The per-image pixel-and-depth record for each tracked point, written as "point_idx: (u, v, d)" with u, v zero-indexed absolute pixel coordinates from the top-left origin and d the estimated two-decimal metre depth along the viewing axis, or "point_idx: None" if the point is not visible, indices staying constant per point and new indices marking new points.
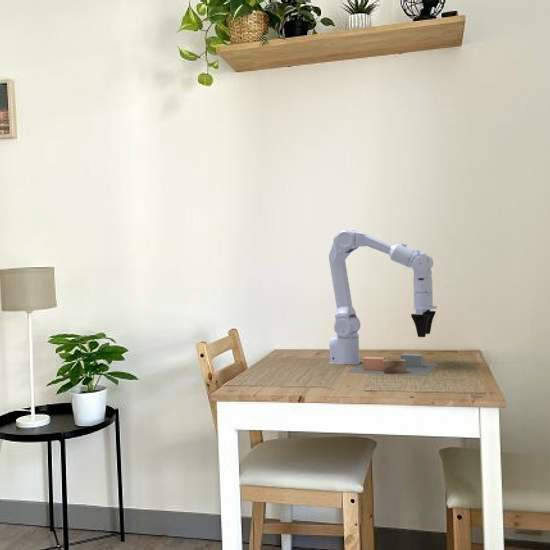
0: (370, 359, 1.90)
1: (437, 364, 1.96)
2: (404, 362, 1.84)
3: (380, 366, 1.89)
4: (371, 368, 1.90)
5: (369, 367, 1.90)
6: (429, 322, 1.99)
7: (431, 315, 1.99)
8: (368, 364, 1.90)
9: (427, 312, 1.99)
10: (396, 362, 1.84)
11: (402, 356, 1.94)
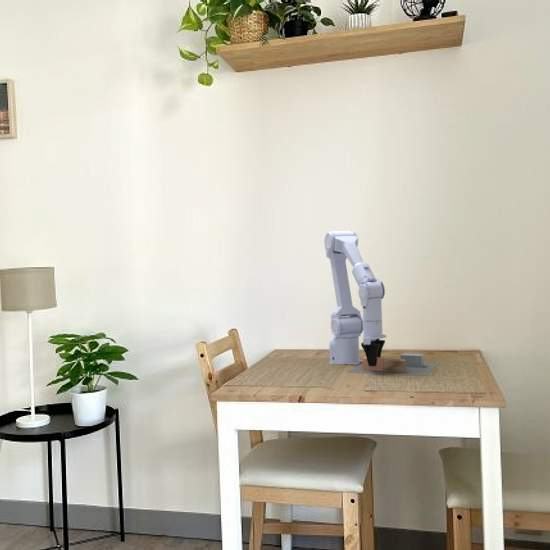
0: None
1: (437, 364, 1.96)
2: (404, 362, 1.84)
3: (380, 366, 1.89)
4: (371, 368, 1.90)
5: (369, 367, 1.90)
6: (378, 351, 1.92)
7: (380, 345, 1.92)
8: None
9: (376, 341, 1.92)
10: (396, 362, 1.84)
11: (402, 356, 1.94)
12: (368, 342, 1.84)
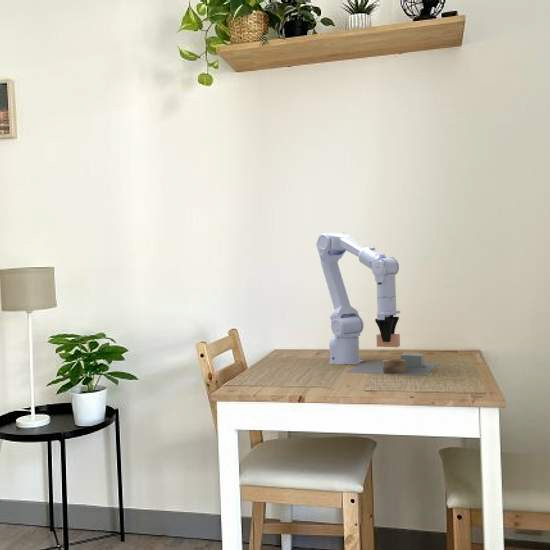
0: None
1: (437, 364, 1.96)
2: (404, 362, 1.84)
3: (394, 342, 1.89)
4: (385, 345, 1.91)
5: (383, 343, 1.91)
6: (392, 327, 1.93)
7: (394, 321, 1.93)
8: None
9: (390, 318, 1.93)
10: (396, 362, 1.84)
11: (402, 356, 1.94)
12: (382, 317, 1.85)
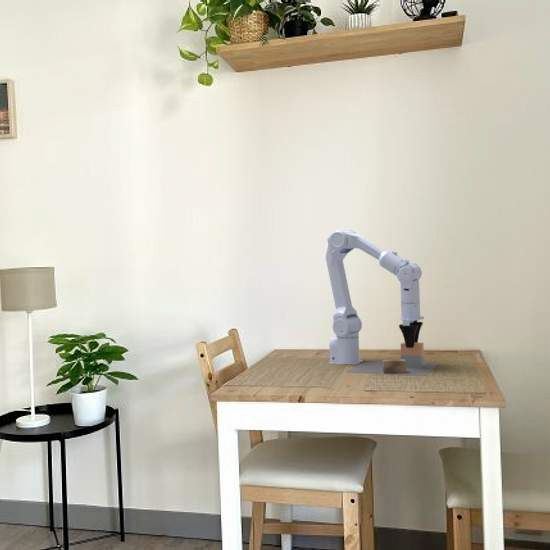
0: None
1: (437, 364, 1.96)
2: (404, 362, 1.84)
3: (418, 351, 1.92)
4: (409, 353, 1.93)
5: (407, 352, 1.93)
6: (416, 333, 1.96)
7: (418, 326, 1.95)
8: (407, 349, 1.93)
9: (414, 323, 1.96)
10: (396, 362, 1.84)
11: (402, 356, 1.94)
12: (407, 323, 1.87)
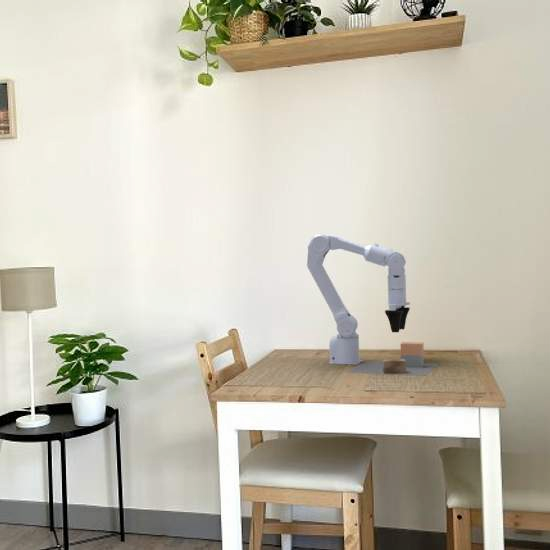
0: (408, 344, 1.93)
1: (437, 364, 1.96)
2: (404, 362, 1.84)
3: (418, 351, 1.92)
4: (409, 353, 1.93)
5: (407, 352, 1.93)
6: (403, 317, 2.06)
7: (405, 311, 2.06)
8: (407, 349, 1.93)
9: (401, 308, 2.07)
10: (396, 362, 1.84)
11: (402, 356, 1.94)
12: (393, 308, 1.97)
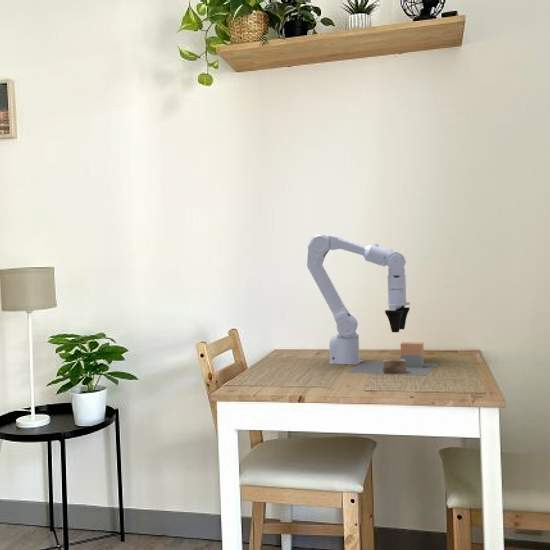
0: (408, 344, 1.93)
1: (437, 364, 1.96)
2: (404, 362, 1.84)
3: (418, 351, 1.92)
4: (409, 353, 1.93)
5: (407, 352, 1.93)
6: (403, 317, 2.06)
7: (405, 311, 2.06)
8: (407, 349, 1.93)
9: (401, 308, 2.07)
10: (396, 362, 1.84)
11: (402, 356, 1.94)
12: (393, 308, 1.97)
